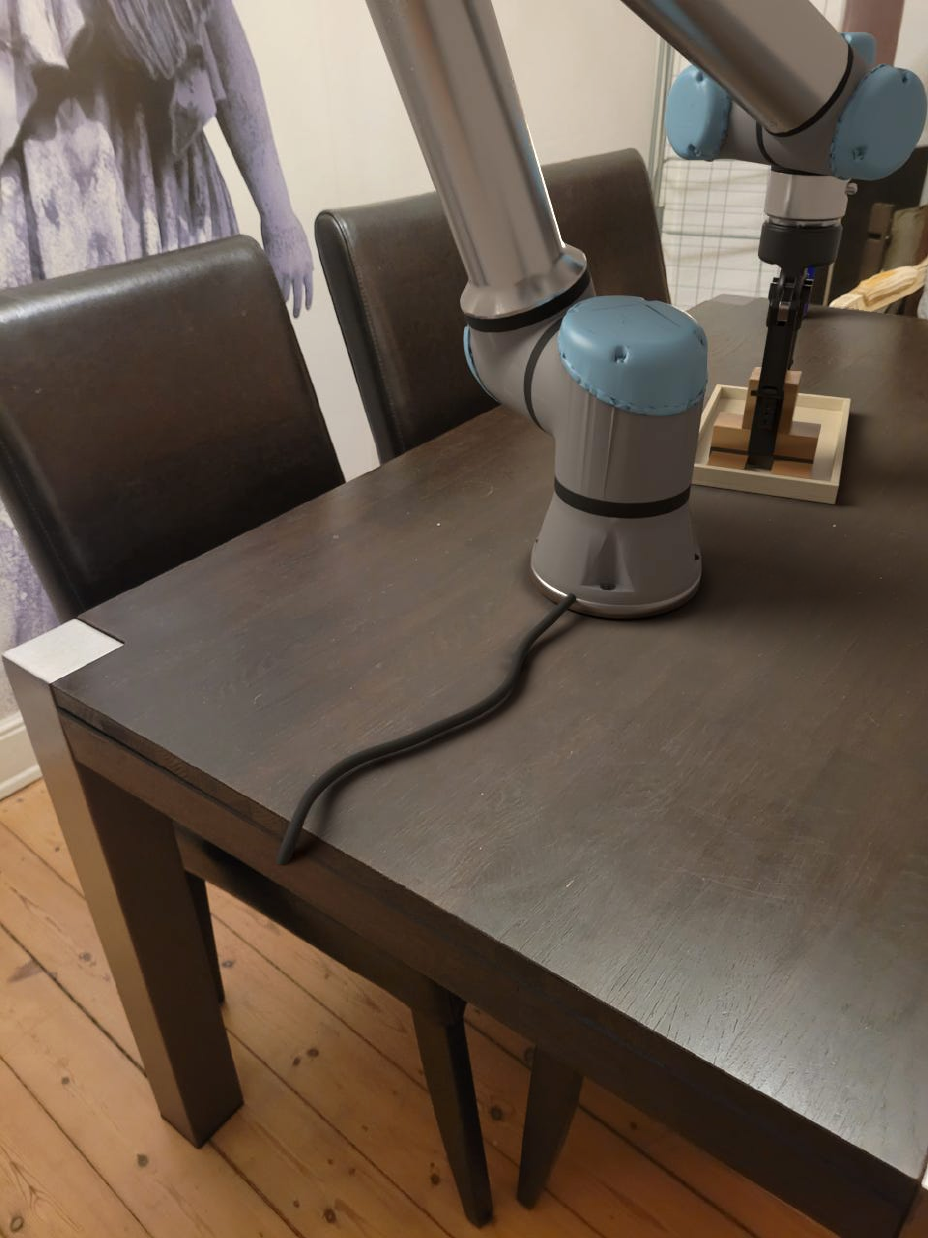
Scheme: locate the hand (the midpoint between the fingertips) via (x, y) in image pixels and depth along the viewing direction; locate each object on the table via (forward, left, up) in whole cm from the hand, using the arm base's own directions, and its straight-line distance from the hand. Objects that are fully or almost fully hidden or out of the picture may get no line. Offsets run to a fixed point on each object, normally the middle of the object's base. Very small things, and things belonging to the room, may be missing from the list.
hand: (763, 444), depth 103 cm
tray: (+5, +4, -3) cm, 7 cm away
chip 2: (-1, -5, -2) cm, 6 cm away
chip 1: (-5, 0, -2) cm, 6 cm away
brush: (0, 0, -2) cm, 2 cm away
